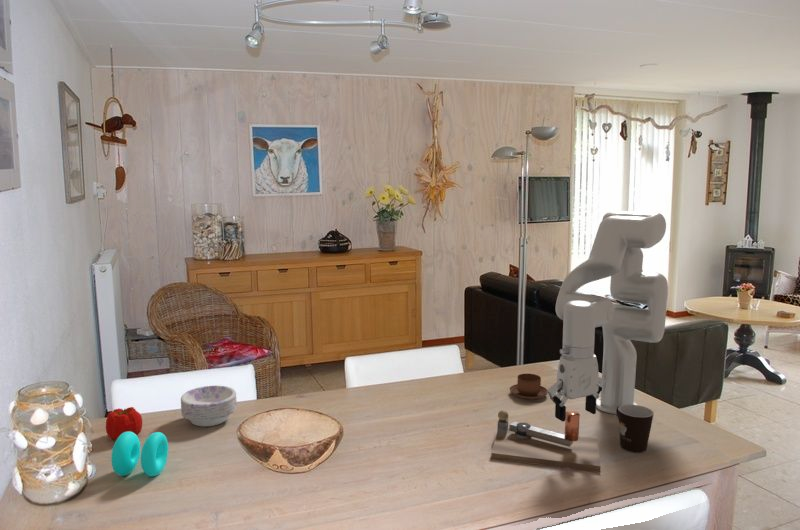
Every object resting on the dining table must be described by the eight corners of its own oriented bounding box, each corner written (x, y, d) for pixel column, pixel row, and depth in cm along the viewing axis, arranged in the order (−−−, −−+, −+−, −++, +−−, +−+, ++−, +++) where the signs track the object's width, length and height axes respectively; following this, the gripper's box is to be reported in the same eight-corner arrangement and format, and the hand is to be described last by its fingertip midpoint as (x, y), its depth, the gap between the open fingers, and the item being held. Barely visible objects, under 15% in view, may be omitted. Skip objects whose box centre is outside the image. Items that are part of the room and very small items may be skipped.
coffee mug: (654, 456, 154) (656, 418, 152) (618, 452, 156) (620, 415, 154) (645, 436, 165) (647, 401, 164) (612, 434, 167) (614, 399, 165)
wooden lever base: (498, 431, 168) (499, 406, 167) (596, 443, 161) (598, 416, 160) (491, 458, 152) (492, 430, 151) (600, 472, 145) (601, 443, 144)
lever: (508, 431, 162) (509, 401, 161) (514, 426, 165) (515, 397, 164) (575, 449, 152) (576, 417, 150) (580, 444, 154) (581, 412, 153)
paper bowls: (195, 436, 164) (193, 408, 163) (173, 419, 176) (172, 393, 174) (246, 421, 174) (245, 395, 173) (223, 406, 186) (222, 381, 184)
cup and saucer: (509, 388, 203) (509, 370, 202) (545, 390, 201) (546, 372, 200) (510, 401, 191) (510, 382, 190) (549, 403, 189) (550, 384, 188)
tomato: (148, 436, 164) (146, 410, 163) (114, 447, 157) (112, 419, 156) (133, 427, 170) (131, 401, 169) (100, 436, 164) (98, 410, 163)
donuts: (130, 463, 149) (128, 424, 148) (171, 463, 149) (169, 425, 147) (110, 483, 139) (107, 442, 138) (153, 484, 139) (151, 443, 137)
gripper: (560, 360, 144) (557, 428, 147) (615, 350, 151) (612, 414, 154) (540, 351, 150) (538, 416, 153) (594, 341, 157) (591, 404, 160)
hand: (575, 415), depth 153 cm, fingers open, 9 cm apart
